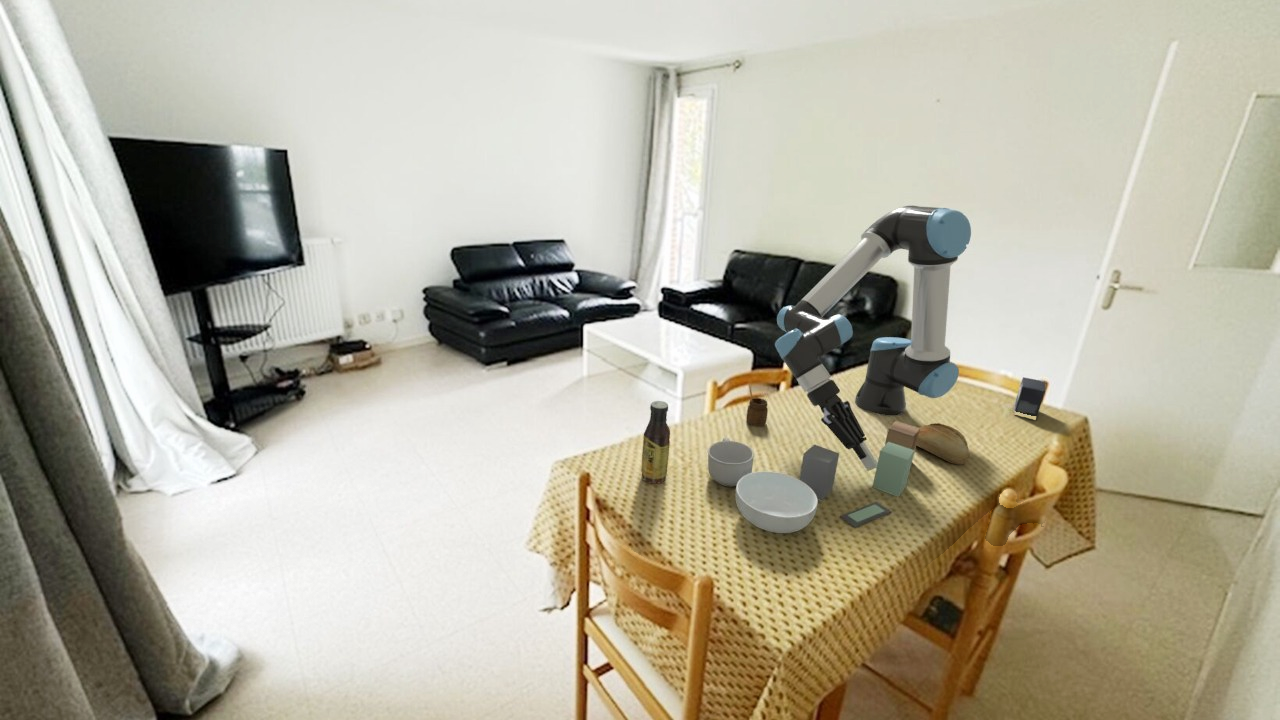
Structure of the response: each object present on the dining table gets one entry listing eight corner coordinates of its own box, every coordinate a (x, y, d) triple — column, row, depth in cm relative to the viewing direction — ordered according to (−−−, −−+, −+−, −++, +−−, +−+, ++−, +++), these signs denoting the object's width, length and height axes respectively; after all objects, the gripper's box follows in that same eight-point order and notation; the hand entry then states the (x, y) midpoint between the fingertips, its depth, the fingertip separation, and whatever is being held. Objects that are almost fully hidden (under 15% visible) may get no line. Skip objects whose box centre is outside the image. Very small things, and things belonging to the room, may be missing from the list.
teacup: (750, 495, 121) (754, 465, 118) (703, 488, 123) (706, 458, 120) (750, 464, 134) (754, 437, 131) (708, 458, 136) (710, 431, 133)
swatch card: (876, 503, 120) (876, 500, 120) (891, 512, 117) (891, 510, 116) (839, 517, 114) (840, 515, 114) (854, 528, 111) (855, 525, 111)
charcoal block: (808, 480, 128) (814, 444, 124) (832, 490, 124) (839, 453, 121) (797, 490, 123) (803, 453, 120) (822, 501, 120) (829, 463, 116)
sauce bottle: (636, 473, 128) (640, 399, 121) (660, 469, 130) (664, 396, 123) (647, 488, 122) (651, 411, 115) (671, 482, 124) (676, 407, 118)
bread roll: (919, 438, 152) (925, 413, 149) (974, 460, 140) (982, 434, 137) (901, 446, 146) (908, 421, 143) (957, 471, 135) (965, 443, 132)
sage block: (880, 477, 130) (888, 441, 127) (905, 486, 127) (914, 450, 123) (872, 486, 126) (880, 450, 123) (898, 497, 122) (907, 459, 119)
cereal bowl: (763, 554, 102) (767, 524, 100) (718, 506, 116) (721, 479, 114) (830, 534, 109) (835, 505, 106) (780, 491, 123) (784, 464, 121)
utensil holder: (768, 427, 154) (773, 390, 150) (746, 426, 154) (751, 389, 150) (764, 418, 159) (768, 382, 155) (743, 417, 159) (747, 381, 155)
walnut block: (888, 453, 142) (895, 420, 138) (911, 462, 138) (920, 428, 135) (881, 462, 137) (888, 428, 134) (905, 470, 134) (913, 436, 130)
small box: (1013, 404, 177) (1022, 376, 173) (1036, 410, 173) (1046, 381, 170) (1012, 415, 169) (1021, 385, 165) (1036, 421, 165) (1046, 390, 162)
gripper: (817, 385, 139) (869, 463, 135) (795, 399, 130) (850, 483, 125) (840, 372, 134) (895, 452, 130) (819, 386, 125) (877, 473, 120)
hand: (873, 468), depth 128 cm, fingers closed
